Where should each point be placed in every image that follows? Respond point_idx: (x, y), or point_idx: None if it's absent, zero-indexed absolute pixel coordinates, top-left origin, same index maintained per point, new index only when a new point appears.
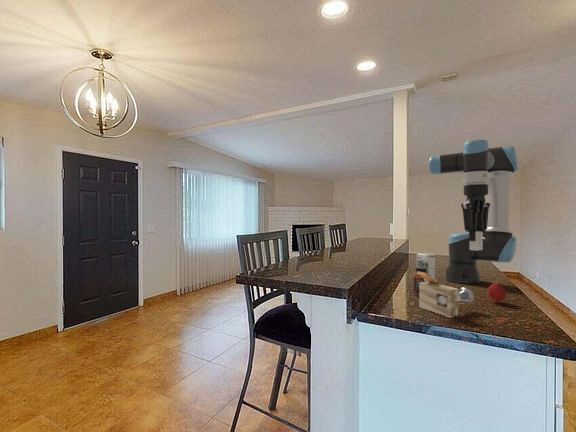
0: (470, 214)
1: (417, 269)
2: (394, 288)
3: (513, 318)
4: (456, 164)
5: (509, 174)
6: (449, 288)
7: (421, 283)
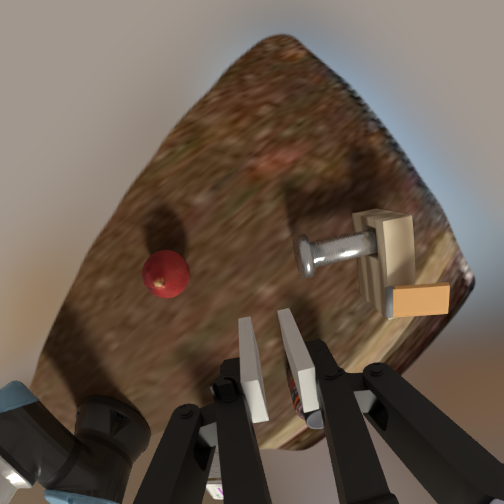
0: (462, 442)
1: None
2: None
3: (242, 156)
4: None
5: None
6: (398, 232)
7: None
